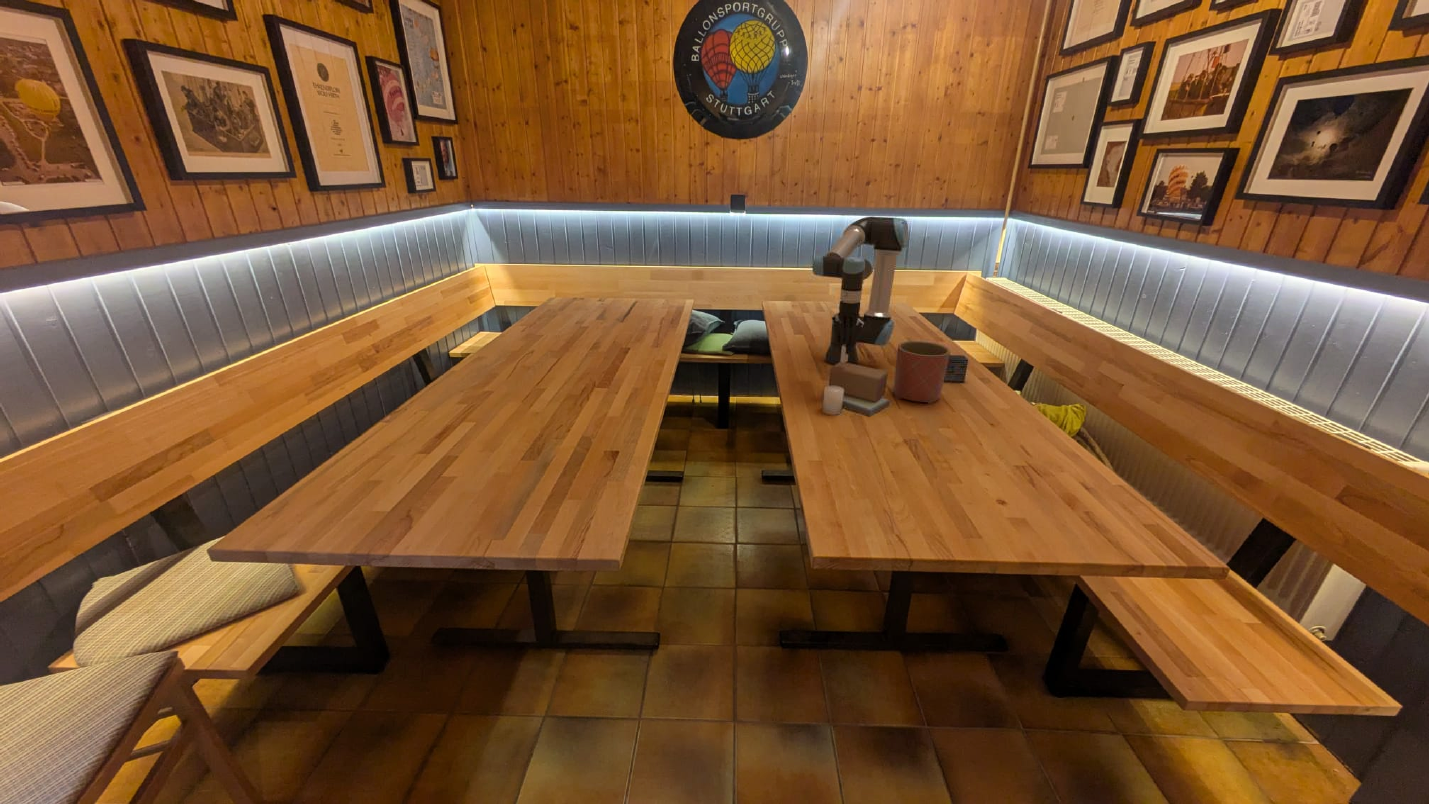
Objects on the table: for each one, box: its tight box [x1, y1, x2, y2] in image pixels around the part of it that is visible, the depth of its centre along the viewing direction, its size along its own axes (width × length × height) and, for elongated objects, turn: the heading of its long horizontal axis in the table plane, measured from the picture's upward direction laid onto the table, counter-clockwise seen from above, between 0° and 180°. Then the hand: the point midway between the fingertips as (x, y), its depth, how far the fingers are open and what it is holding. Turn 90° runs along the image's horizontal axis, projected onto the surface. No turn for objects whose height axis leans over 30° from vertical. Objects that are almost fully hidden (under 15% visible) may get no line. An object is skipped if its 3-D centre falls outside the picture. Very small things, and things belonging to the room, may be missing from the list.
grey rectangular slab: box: [842, 394, 891, 417], centre depth 214 cm, size 19×14×2 cm
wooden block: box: [828, 362, 889, 402], centre depth 216 cm, size 10×10×20 cm
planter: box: [892, 340, 951, 405], centre depth 218 cm, size 19×19×20 cm
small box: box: [943, 354, 969, 384], centre depth 236 cm, size 11×6×10 cm, turn 84°
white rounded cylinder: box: [822, 385, 844, 415], centre depth 206 cm, size 7×7×9 cm
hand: (843, 361), depth 213 cm, fingers closed
